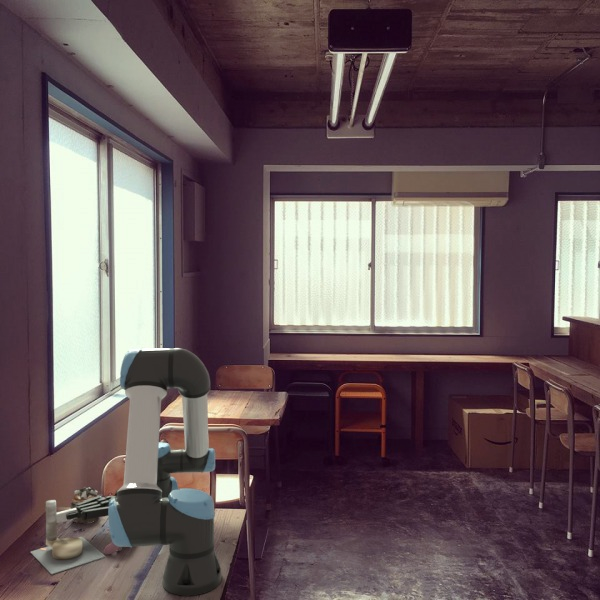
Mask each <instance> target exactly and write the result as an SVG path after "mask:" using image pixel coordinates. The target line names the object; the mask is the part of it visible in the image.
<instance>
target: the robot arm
mask: <svg viewBox="0 0 600 600" xmlns="http://www.w3.org/2000/svg"><path fill="white" fill-rule="evenodd" d="M210 378H211V377H210V374H209V370H207V367H206V366H205V364H204V363H203V361H202V360H201V359H200V358H199V357H198V355H196V354H195V353H193V352H192V351H190V350H188V349H184V348H180V347H175V348H169V347H168V348H145V347H141V348H135V349H134V348H133V349H129V350H128V351H127V352H126V353H125V354H124V356H123V360H122V361H121V366H120V378H119V385H120V388H121V389H122V390H124V395H125V396H126V398H128V399H129V409H128V423H127V434H126V447H125V449H126V450H125V460H124V475H123V484H122V486H121V487H120V488H119V489H117V490H115V493H114V495H108V496H105V497H103V494H97V495H98V496H97V497H95V498H92V499H89V500H87V501H84V502H81V503H78V504H76V505H75V508H73V509H70V508H69V509H66V510H62V511H58V512H57V511H56V519H57V524H59V523H64V522H67V521H70V520H71V521H72V520H73V519H75V518H82V520H86V519H92V518H98V517H99V518H103V517H107V518H108V529H109V535H110V539H111V542H113V543H114V544H115V545H116V546H119V547H122V548H126V547H127V548H128V547H129V548H133V547H148V546H149V547H150V546H165V545H166V546H168V545H169V546H168V547H169V549H168V550H169V551H168V553H169V554H168V557H167V561H166V563H165V565H164V570H163V573H162V587H163V588H164V590H166V591H167V592H168V593H170V594H172V595H173V594H174V595H178V596H182V597H183V596H184V597H185V596H186V597H187V596H188V597H190V595H192V596H198V594H199V595H202V593H203V594H206V593H208V592H209V593H210V592H211V591H212V590H214V589H216V588H217V587H218V586H219V585H220V583H221V582H222V568H221V565H220V562H219V559H218V557H217V554H216V551H215V515H216V512H215V503H214V499H213V497H212V496H211V495H210V494H209V493H208V492H205V491H204V490H200V489H197V488H190V487H189V488H187V487H186V488H185V487H184V488H182V487H181V488H179V485H178V481H177V479H176V478H175V477H174V476H171V474H182V473H183V474H186V473H187V474H189V473H191V474H192V473H201V474H202V473H210V472H214V471H215V469H216V450H215V449H214V448H213V447H211V448H210V447H209V446H210V444H209V443H210V441H209V420H208V419H209V415H208V413H209V412H208V411H209V409H208V394H209V393H210V391H211V379H210ZM168 389H177V391H178V393H179V394H180V396H181V403H182V416H183V417H182V418H183V433H184V448H181V449H175V448H174V449H171V445H170V444H169V443H167V442H162V441H161V442H160V428H161V411H162V410H161V408H162V400H164V399H165V397H166V396H167V394H168ZM99 518H98V519H99Z"/></svg>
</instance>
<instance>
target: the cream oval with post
mask: <svg viewBox="0 0 600 600" xmlns="http://www.w3.org/2000/svg"><path fill="white" fill-rule="evenodd" d="M56 513H57V500H56V499H49V500H46V501H45V524H46V525H45V529H46V531H45V534H46V537H45V538H46V539H45V546H46V547H48V546H50V547H52V555H53V557H54V558H55V559H60V560H65V559H71V558H74V557H77V556H79V555H80V554H81V553H82V540H81V539H79V538H78V537H74V536H73V537H64V538H59V537H58V530H57V529H58V528H57V527H58V526H57V525H58V523H57V519H56Z"/></svg>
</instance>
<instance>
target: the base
mask: <svg viewBox="0 0 600 600" xmlns="http://www.w3.org/2000/svg"><path fill="white" fill-rule="evenodd" d="M77 538H79V539H81V540H82V553H81V554H80V555H79V556H77V557H74V558H71V559H65V560H60V559H55V558H54V557H53V555H52V547H50V546H45V547H40V548H38V549H35V550H31V551H30V554H31V555H32V556H33V557H34V558H35V559H36V560H37V561H38V563H39V564H41V566H43V568H44V569H45V570H46V571H47V572H48V573H49V574H50V575H51V576H52V575H56V574H60V573H62V572H64V571H65V572H66V571H68V570H72V569H74V568H78V567H80V566H84V565H87V564H90V563H92V562H95V561H99V560H102V559H105V558H106V554H105V555H104V554H103V553H102V552H101V551H100V550H99V549H97V548H96V547H95V546H94V545H92V544H91V542H89V541H88V540H87V539H85V538H84V537H83V536H79V537H77Z"/></svg>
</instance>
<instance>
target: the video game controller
mask: <svg viewBox="0 0 600 600" xmlns="http://www.w3.org/2000/svg"><path fill="white" fill-rule="evenodd" d="M122 549H123V547H119V546H116V545H115V544H114V543H113V542H112V541H111V542H110V543H109V544H108V545H106V546H105V547H104V549H103V553H104V554H105V555H112V554H114V553H115V552H116V551H117V552H121V550H122Z"/></svg>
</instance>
